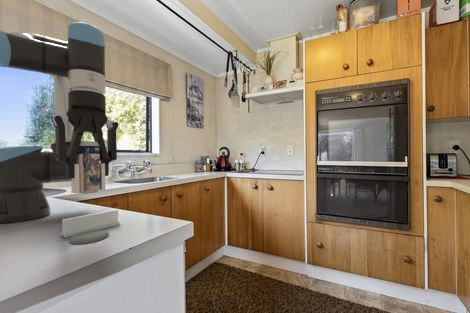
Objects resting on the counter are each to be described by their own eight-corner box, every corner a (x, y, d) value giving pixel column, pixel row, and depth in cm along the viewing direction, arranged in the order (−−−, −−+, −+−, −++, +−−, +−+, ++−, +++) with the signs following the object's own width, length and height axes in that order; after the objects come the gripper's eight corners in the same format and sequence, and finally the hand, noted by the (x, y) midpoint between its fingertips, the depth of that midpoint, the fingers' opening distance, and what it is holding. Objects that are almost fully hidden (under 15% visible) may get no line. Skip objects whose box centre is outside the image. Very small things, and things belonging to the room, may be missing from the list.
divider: (61, 235, 58) (60, 218, 58) (114, 222, 68) (114, 209, 68) (65, 237, 56) (64, 220, 56) (119, 224, 66) (119, 210, 66)
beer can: (89, 194, 52) (88, 140, 52) (71, 193, 53) (70, 141, 53) (105, 190, 57) (104, 141, 57) (88, 190, 58) (87, 142, 58)
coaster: (63, 239, 55) (63, 237, 55) (100, 230, 61) (100, 228, 61) (76, 247, 50) (75, 245, 50) (114, 236, 56) (114, 234, 56)
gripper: (44, 80, 46) (46, 198, 46) (131, 97, 60) (133, 188, 60) (34, 87, 51) (36, 195, 51) (118, 102, 65) (119, 186, 64)
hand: (88, 191), depth 55 cm, fingers closed on beer can, 5 cm apart
